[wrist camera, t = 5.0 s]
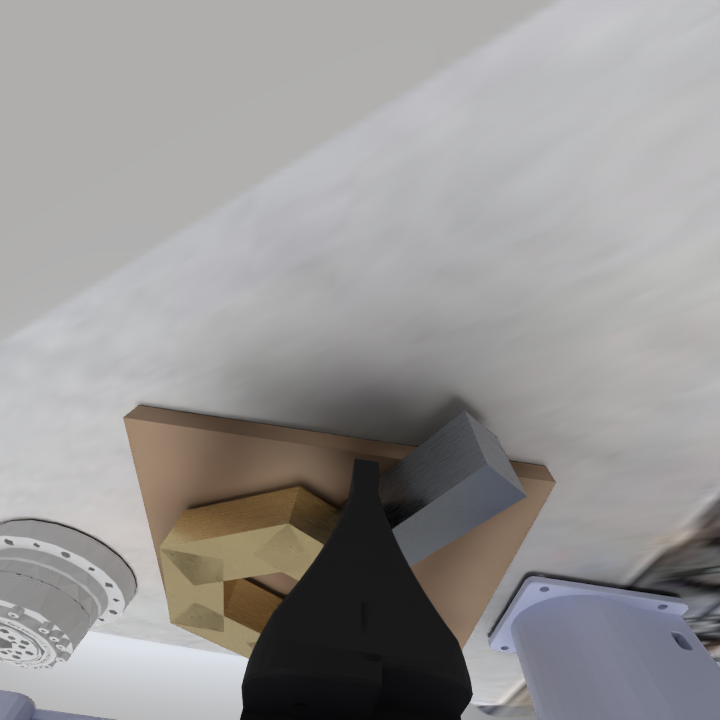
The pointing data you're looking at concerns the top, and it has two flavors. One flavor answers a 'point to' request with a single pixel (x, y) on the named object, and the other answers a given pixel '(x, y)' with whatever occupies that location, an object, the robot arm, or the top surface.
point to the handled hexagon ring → (326, 531)
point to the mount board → (322, 479)
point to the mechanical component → (55, 591)
